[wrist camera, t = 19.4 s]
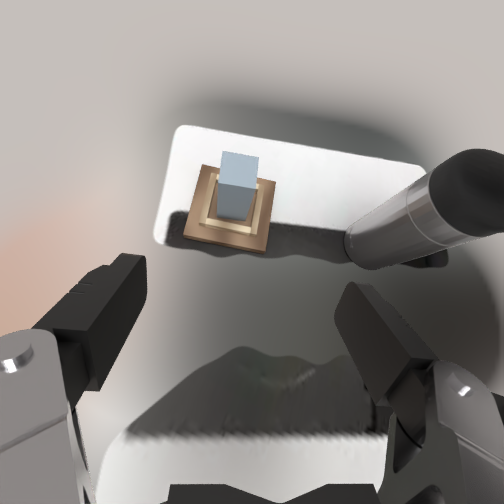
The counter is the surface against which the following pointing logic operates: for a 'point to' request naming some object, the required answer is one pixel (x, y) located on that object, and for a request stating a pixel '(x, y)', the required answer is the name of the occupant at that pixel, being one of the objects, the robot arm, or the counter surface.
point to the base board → (225, 230)
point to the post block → (236, 185)
